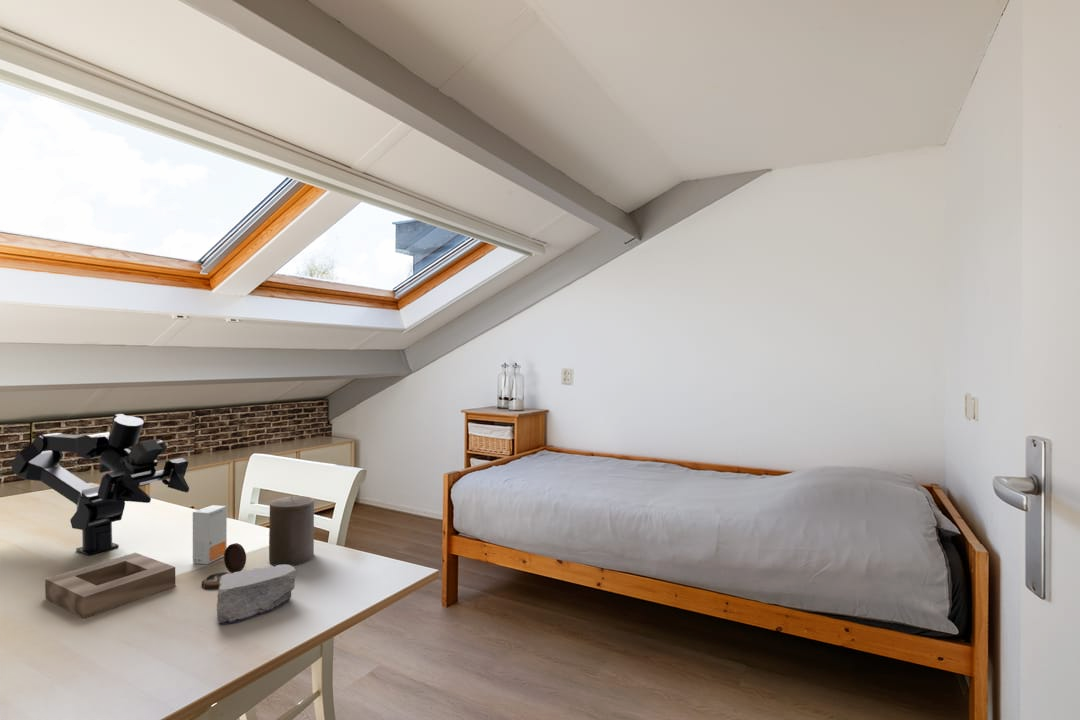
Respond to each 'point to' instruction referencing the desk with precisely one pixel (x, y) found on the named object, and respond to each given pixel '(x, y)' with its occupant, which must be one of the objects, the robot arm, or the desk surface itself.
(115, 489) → the robot arm
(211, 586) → the dark brown curved piece
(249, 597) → the decorative stone
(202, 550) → the skincare box
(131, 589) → the holder block
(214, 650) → the desk surface
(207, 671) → the desk surface
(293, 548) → the pillar candle
